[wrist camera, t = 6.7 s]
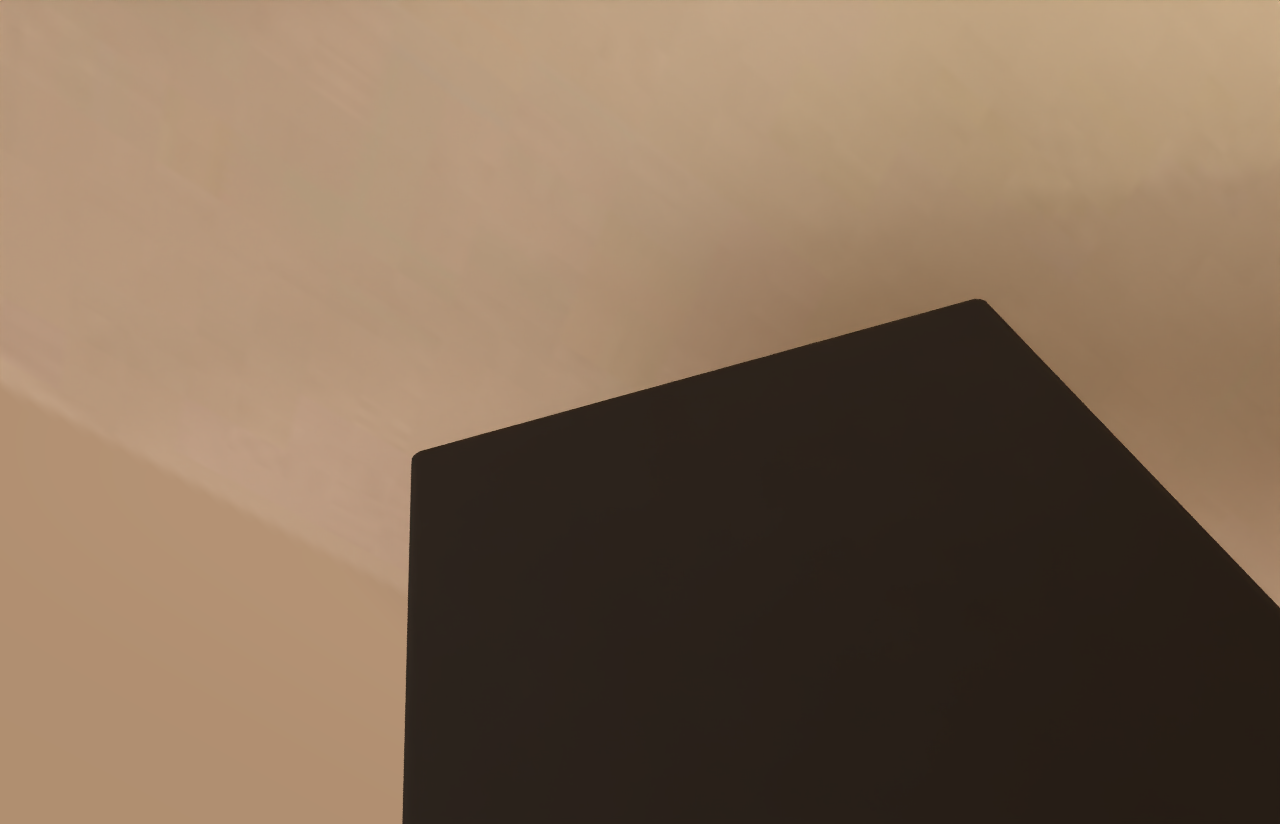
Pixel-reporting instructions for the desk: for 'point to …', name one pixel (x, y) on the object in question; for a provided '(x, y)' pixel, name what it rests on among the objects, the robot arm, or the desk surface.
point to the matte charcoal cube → (831, 606)
